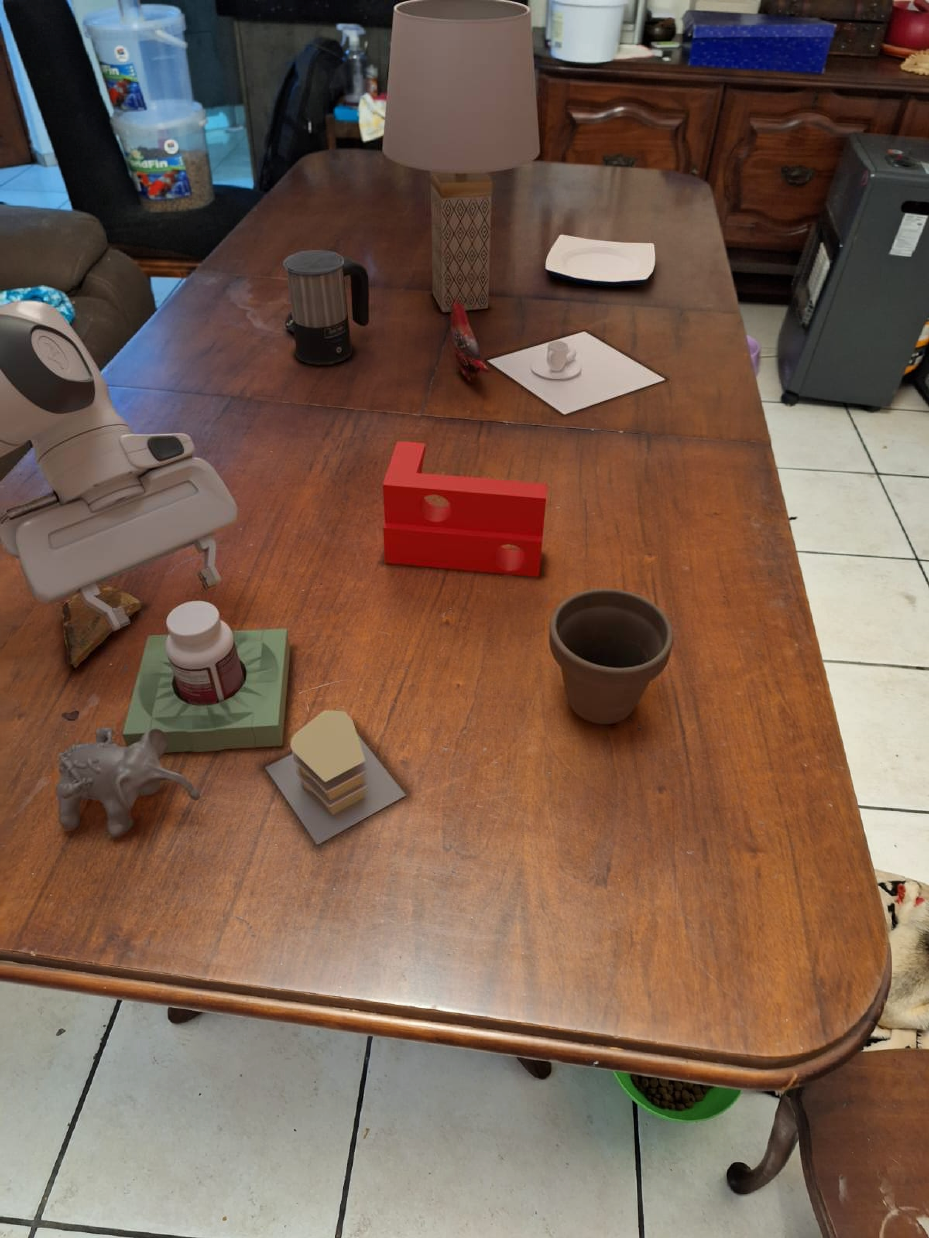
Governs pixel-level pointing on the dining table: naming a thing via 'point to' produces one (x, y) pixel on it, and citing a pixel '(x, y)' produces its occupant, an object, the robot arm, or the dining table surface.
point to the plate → (600, 261)
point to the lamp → (461, 123)
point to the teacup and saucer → (575, 372)
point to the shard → (91, 621)
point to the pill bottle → (202, 654)
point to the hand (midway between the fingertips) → (169, 605)
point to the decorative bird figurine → (465, 342)
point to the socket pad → (221, 725)
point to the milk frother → (324, 304)
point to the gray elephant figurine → (113, 777)
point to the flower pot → (608, 650)
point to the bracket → (460, 519)
